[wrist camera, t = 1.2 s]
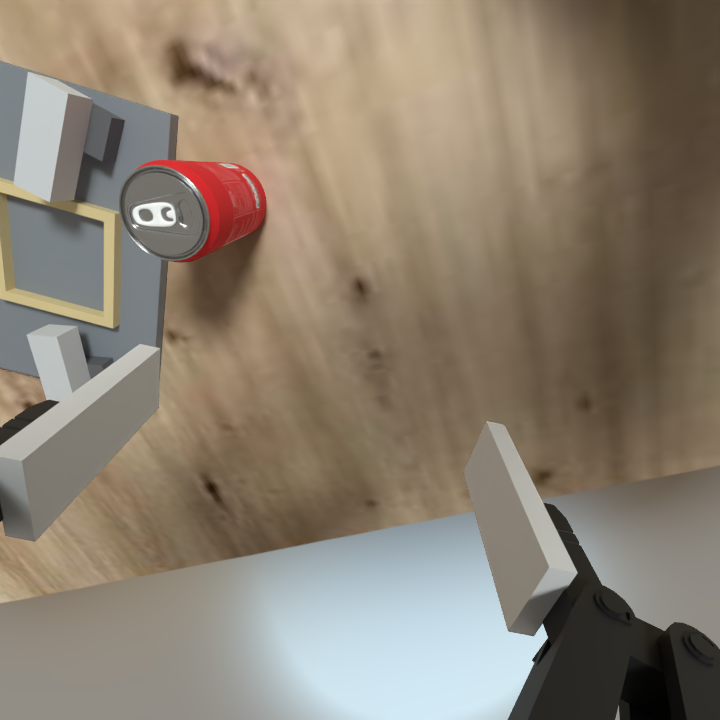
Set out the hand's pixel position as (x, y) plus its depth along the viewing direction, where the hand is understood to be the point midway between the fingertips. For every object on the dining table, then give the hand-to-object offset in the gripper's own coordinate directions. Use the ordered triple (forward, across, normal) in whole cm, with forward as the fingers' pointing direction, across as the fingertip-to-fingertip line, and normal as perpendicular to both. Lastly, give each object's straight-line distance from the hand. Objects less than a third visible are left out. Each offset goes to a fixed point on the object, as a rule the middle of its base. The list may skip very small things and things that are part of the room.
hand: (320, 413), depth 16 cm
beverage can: (+20, -10, +4) cm, 23 cm away
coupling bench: (+20, -24, -3) cm, 31 cm away
